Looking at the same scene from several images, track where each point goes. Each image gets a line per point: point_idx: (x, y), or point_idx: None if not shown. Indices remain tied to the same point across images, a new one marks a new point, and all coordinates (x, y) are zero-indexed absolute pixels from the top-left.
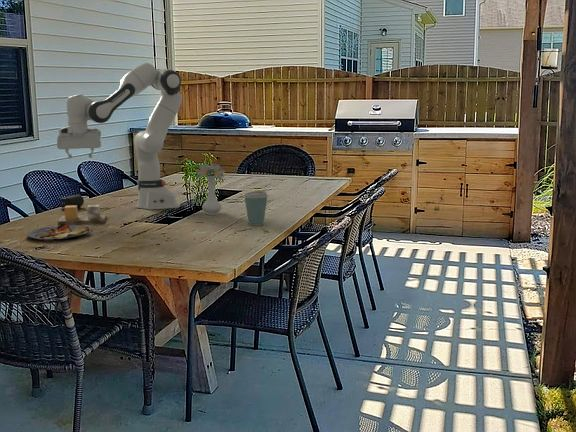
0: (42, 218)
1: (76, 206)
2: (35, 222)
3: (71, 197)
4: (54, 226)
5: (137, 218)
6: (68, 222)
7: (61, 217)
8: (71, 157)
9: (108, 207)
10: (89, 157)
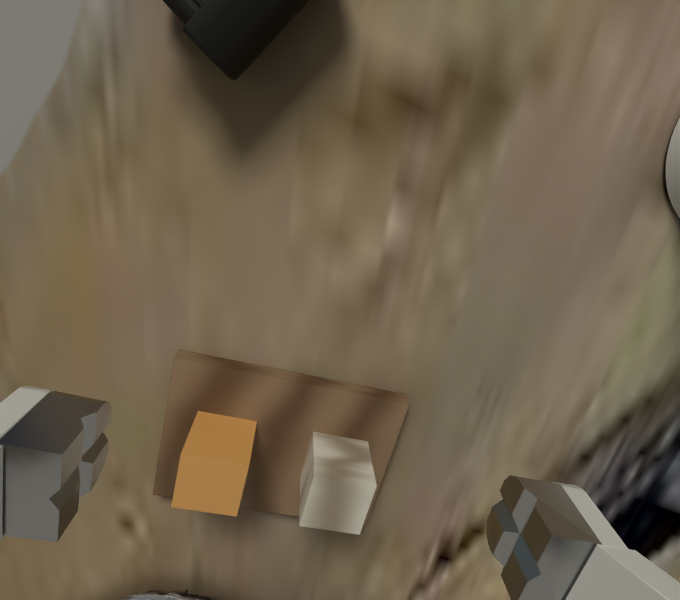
0: (61, 296)
1: (242, 492)
2: None
3: (234, 15)
4: (141, 597)
5: (532, 462)
6: None
7: (169, 406)
8: (94, 482)
9: (508, 49)
10: (499, 523)
